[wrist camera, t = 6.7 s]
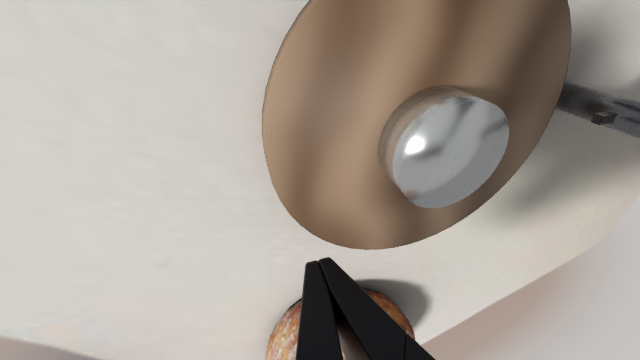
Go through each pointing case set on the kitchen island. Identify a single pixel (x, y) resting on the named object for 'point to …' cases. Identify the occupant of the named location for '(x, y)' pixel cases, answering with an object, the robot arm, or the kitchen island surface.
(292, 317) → the bread
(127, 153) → the kitchen island surface
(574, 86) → the ice cream scoop
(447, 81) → the disc
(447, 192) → the cover
